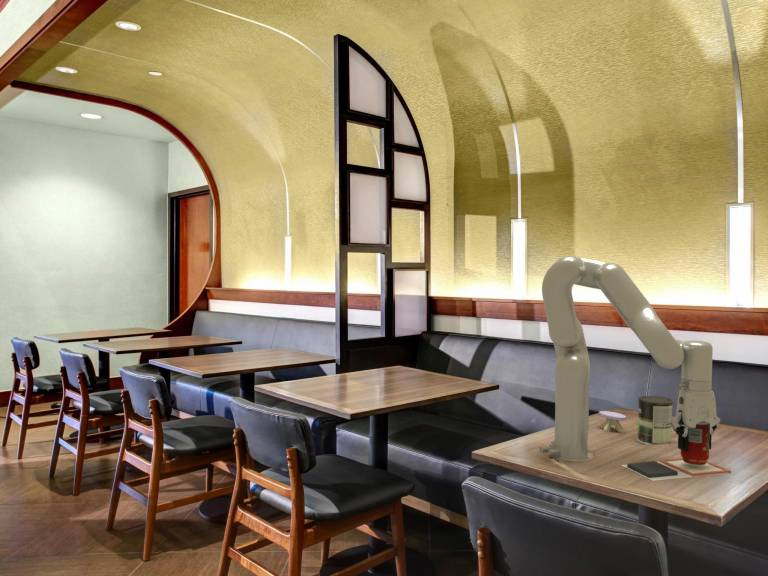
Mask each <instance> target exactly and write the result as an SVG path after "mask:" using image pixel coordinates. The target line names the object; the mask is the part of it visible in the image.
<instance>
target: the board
mask: <svg viewBox="0 0 768 576" xmlns="http://www.w3.org/2000/svg"><path fill="white" fill-rule="evenodd" d="M657 462H658V463H660V464H662V465H664V466H667V467H669V468H671V469H673V470H676V471H678V475H675V476H665V477H655V478H648V477H646V476H644V475H642V474H640V473H638V472H636V471H634V470H632V469H630V468H628V467H627V464H621V466H622V467H623V468H625V469H628V470H629V471H631V472H634V473H636V474H638V475H640V476H642V477H643V478H646V479H648V480H650V481H652V482H655V481H665V480H666V481H667V480H674V479H675V480H677V479H685V478H694V477H695V478H696V477H698V476H691V475H688V474H686V473H684V472H681V471H679V470H677V469H675V468H672V467H670V466H668V465H666V464H663V463H661V462H660V461H657ZM724 474H727V473H721V474H720V475H724ZM713 475H717V474H711V475H710V476H713ZM705 476H707V475H701V476H700V477H705Z"/></svg>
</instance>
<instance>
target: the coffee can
mask: <svg viewBox="0 0 768 576" xmlns="http://www.w3.org/2000/svg"><path fill="white" fill-rule="evenodd" d="M673 403H674V400H673V399H671V398H667V397H664V396H656V395H655V396H654V395H644V396H643V395H642V396H639V397H638V413H637V414H638V417H637V419H638V420H637V439H636V440H637V442H638V443H640V444H642V445H645V444H646V445H647V446H654V445H663V444H664V445H665V444H672V430H673V427H672V426H671V425H670V421H671V420H672V419H673Z"/></svg>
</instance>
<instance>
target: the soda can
mask: <svg viewBox="0 0 768 576" xmlns="http://www.w3.org/2000/svg"><path fill="white" fill-rule="evenodd" d="M683 424H684V422H683ZM684 428H685V427H683V430H684ZM686 437H688V451H683V450H681V449H680V456H681V458H683V461H684V462H685V463H688V464H692V465H705V464H706V461H708V460H709V458H710V449H709V438H710V423H709V422H705V421H702V422H699V423H697V424H696V428H689V431H688V434H687V436H686Z"/></svg>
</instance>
